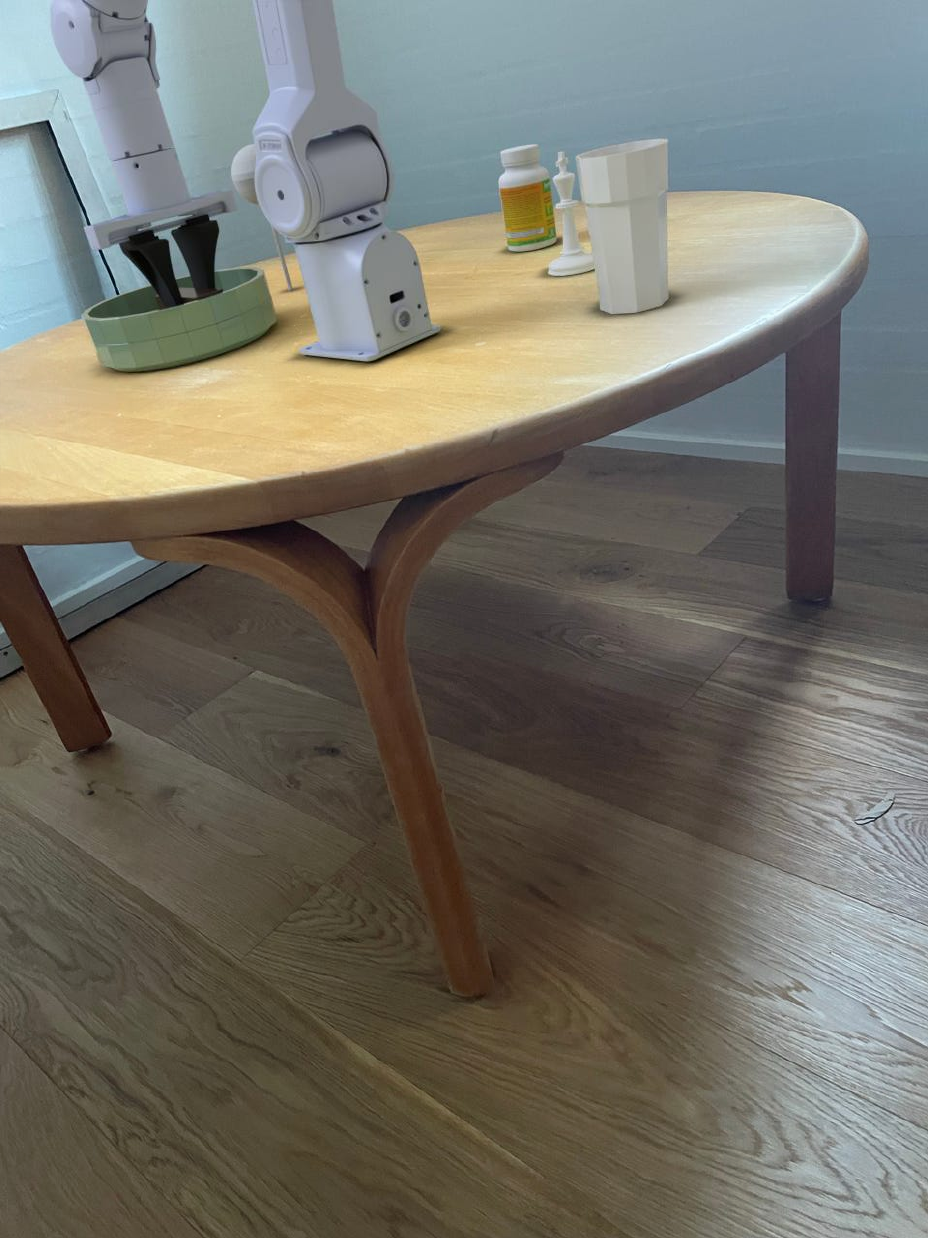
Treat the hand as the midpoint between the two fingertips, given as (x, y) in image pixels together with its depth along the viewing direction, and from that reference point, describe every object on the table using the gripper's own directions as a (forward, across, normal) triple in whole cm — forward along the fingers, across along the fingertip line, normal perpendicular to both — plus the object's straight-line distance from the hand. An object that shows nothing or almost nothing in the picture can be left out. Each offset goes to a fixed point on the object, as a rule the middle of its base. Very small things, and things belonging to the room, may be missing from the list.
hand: (193, 309), depth 88 cm
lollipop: (+3, -16, -8) cm, 19 cm away
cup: (+3, -16, +40) cm, 43 cm away
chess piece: (+3, -26, +26) cm, 37 cm away
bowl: (+3, +2, 0) cm, 3 cm away
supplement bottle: (+3, -34, +13) cm, 37 cm away
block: (+1, 0, 0) cm, 1 cm away
